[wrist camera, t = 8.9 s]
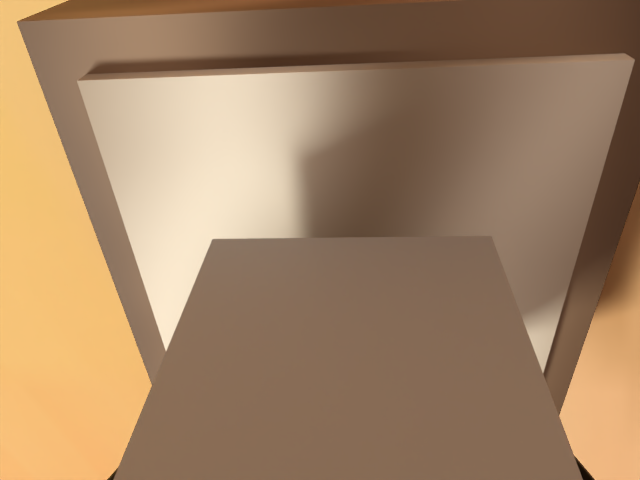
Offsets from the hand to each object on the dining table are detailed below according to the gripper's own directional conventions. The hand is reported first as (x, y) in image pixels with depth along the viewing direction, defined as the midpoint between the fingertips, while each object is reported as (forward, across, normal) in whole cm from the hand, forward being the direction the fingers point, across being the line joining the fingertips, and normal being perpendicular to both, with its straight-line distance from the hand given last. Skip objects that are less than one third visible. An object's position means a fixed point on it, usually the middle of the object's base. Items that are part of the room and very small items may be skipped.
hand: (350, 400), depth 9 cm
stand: (+7, 0, 0) cm, 7 cm away
